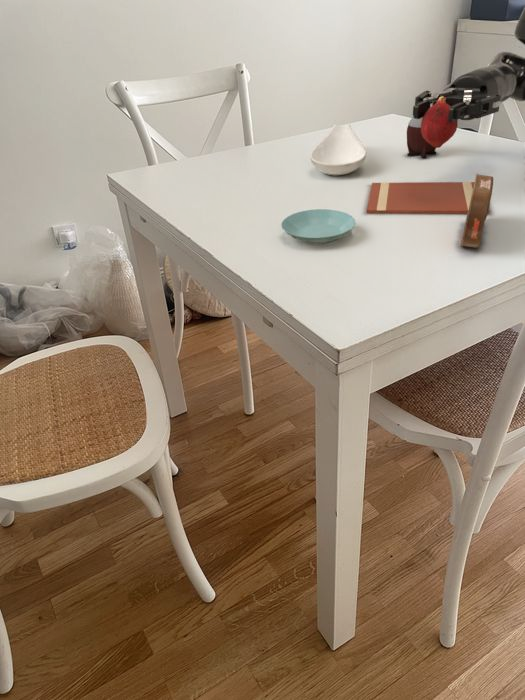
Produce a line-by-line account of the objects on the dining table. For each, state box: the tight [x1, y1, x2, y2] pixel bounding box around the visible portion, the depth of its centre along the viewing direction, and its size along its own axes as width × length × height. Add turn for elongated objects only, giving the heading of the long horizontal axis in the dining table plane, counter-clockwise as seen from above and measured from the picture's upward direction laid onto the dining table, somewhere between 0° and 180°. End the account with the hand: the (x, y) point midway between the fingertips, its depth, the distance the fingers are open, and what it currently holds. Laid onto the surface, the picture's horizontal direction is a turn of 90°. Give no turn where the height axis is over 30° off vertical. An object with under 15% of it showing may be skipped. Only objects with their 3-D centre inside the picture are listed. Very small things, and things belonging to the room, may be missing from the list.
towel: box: [365, 181, 490, 215], centre depth 97 cm, size 20×15×1 cm
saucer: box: [281, 208, 356, 244], centre depth 87 cm, size 12×12×2 cm
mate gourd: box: [406, 81, 454, 160], centre depth 116 cm, size 8×8×15 cm
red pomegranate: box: [421, 96, 459, 149], centre depth 89 cm, size 6×6×8 cm
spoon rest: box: [309, 123, 367, 177], centre depth 118 cm, size 24×12×7 cm, turn 170°
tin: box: [460, 173, 494, 249], centre depth 80 cm, size 15×3×8 cm, turn 159°
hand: (433, 113), depth 86 cm, fingers closed on red pomegranate, 5 cm apart
